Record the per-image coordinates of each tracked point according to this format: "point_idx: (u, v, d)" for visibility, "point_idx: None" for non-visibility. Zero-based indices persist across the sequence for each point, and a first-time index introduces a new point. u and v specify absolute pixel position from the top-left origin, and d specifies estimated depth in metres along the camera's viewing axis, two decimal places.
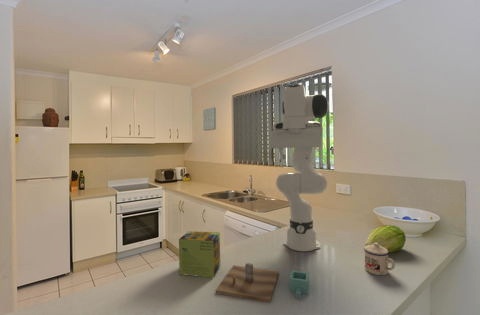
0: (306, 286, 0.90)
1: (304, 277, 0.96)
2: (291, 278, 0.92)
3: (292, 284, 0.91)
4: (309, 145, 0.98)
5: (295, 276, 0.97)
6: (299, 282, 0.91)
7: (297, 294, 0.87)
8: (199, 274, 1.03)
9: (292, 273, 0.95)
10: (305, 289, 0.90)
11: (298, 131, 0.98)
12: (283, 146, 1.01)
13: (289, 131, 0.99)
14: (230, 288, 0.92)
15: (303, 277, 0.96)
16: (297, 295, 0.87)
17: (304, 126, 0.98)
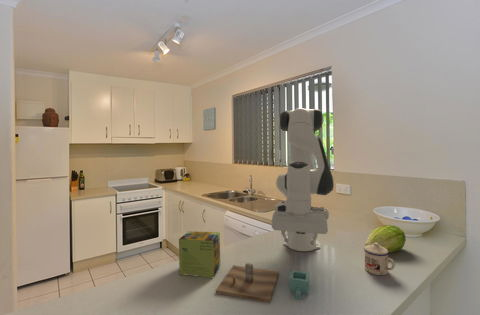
0: (306, 286, 0.90)
1: (304, 277, 0.96)
2: (291, 278, 0.92)
3: (292, 284, 0.91)
4: (314, 231, 0.90)
5: (295, 276, 0.97)
6: (299, 282, 0.91)
7: (297, 294, 0.87)
8: (199, 274, 1.03)
9: (292, 273, 0.95)
10: (305, 289, 0.90)
11: (302, 216, 0.90)
12: (286, 229, 0.93)
13: (293, 214, 0.91)
14: (230, 288, 0.92)
15: (303, 277, 0.96)
16: (297, 295, 0.87)
17: (309, 210, 0.90)
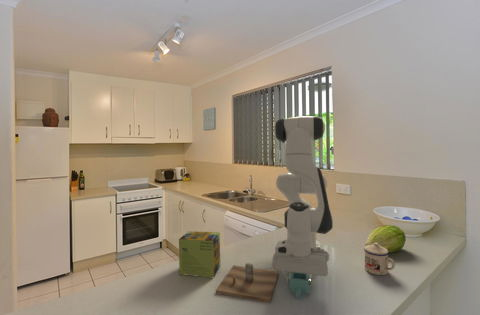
0: (306, 286, 0.90)
1: (304, 277, 0.96)
2: (291, 278, 0.92)
3: (292, 284, 0.91)
4: (315, 273, 0.90)
5: (295, 276, 0.97)
6: (299, 282, 0.91)
7: (297, 294, 0.87)
8: (199, 274, 1.03)
9: (292, 273, 0.95)
10: (305, 289, 0.90)
11: (303, 258, 0.90)
12: (286, 270, 0.93)
13: (293, 256, 0.92)
14: (230, 288, 0.92)
15: (303, 277, 0.96)
16: (297, 295, 0.87)
17: (309, 252, 0.90)
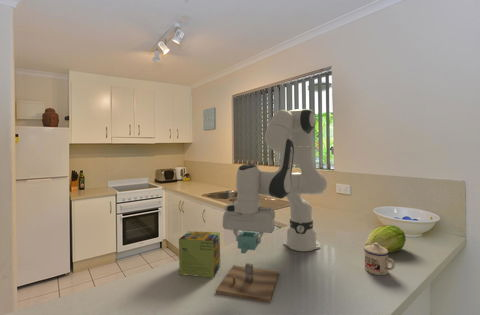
0: (252, 242, 0.93)
1: None
2: (239, 236, 0.95)
3: (240, 241, 0.94)
4: (261, 230, 0.93)
5: (245, 236, 1.00)
6: (246, 239, 0.94)
7: (242, 249, 0.90)
8: (199, 274, 1.03)
9: (242, 232, 0.99)
10: (252, 245, 0.93)
11: (250, 215, 0.94)
12: (235, 228, 0.96)
13: (241, 214, 0.95)
14: (230, 288, 0.92)
15: (253, 236, 0.99)
16: (242, 250, 0.90)
17: (256, 210, 0.93)
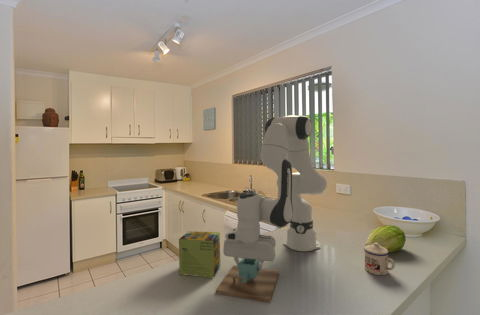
0: (253, 271, 0.93)
1: None
2: (240, 263, 0.95)
3: (241, 269, 0.95)
4: (262, 258, 0.94)
5: (246, 262, 1.00)
6: (247, 267, 0.94)
7: (243, 278, 0.91)
8: (199, 274, 1.03)
9: (243, 259, 0.99)
10: (252, 274, 0.94)
11: (250, 244, 0.94)
12: (236, 256, 0.97)
13: (242, 242, 0.95)
14: (230, 288, 0.92)
15: (253, 263, 0.99)
16: (243, 279, 0.91)
17: (257, 239, 0.94)
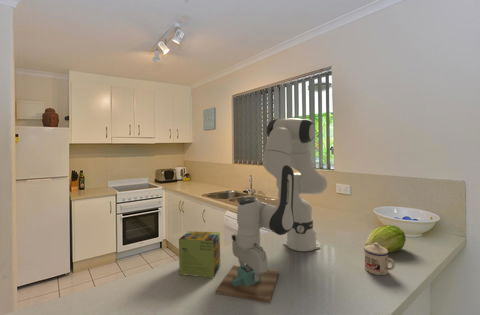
0: (245, 278, 0.94)
1: None
2: (239, 267, 0.98)
3: (238, 273, 0.98)
4: (253, 268, 0.92)
5: None
6: (242, 273, 0.96)
7: (233, 282, 0.94)
8: (199, 274, 1.03)
9: None
10: (245, 281, 0.94)
11: (245, 250, 0.94)
12: (239, 258, 1.00)
13: None
14: (230, 288, 0.92)
15: None
16: (233, 282, 0.94)
17: (249, 246, 0.93)
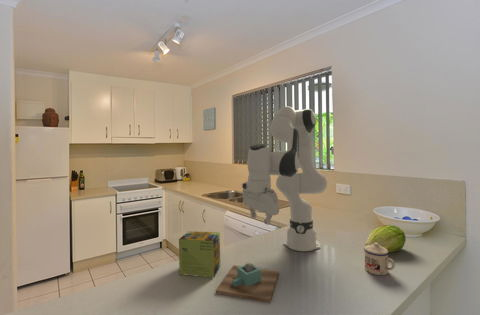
0: (245, 278, 0.94)
1: None
2: (239, 267, 0.98)
3: (238, 273, 0.98)
4: (264, 211, 0.93)
5: None
6: (242, 273, 0.96)
7: (233, 282, 0.94)
8: (199, 274, 1.03)
9: None
10: (245, 281, 0.94)
11: (256, 195, 0.96)
12: (250, 206, 1.02)
13: (251, 193, 0.99)
14: (230, 288, 0.92)
15: None
16: (233, 282, 0.94)
17: (260, 190, 0.94)
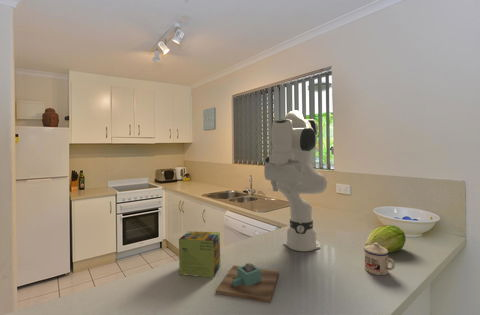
0: (245, 278, 0.94)
1: None
2: (239, 267, 0.98)
3: (238, 273, 0.98)
4: (288, 181, 0.96)
5: None
6: (242, 273, 0.96)
7: (233, 282, 0.94)
8: (199, 274, 1.03)
9: None
10: (245, 281, 0.94)
11: (279, 166, 0.99)
12: (272, 179, 1.05)
13: (274, 165, 1.02)
14: (230, 288, 0.92)
15: None
16: (233, 282, 0.94)
17: (284, 162, 0.97)
